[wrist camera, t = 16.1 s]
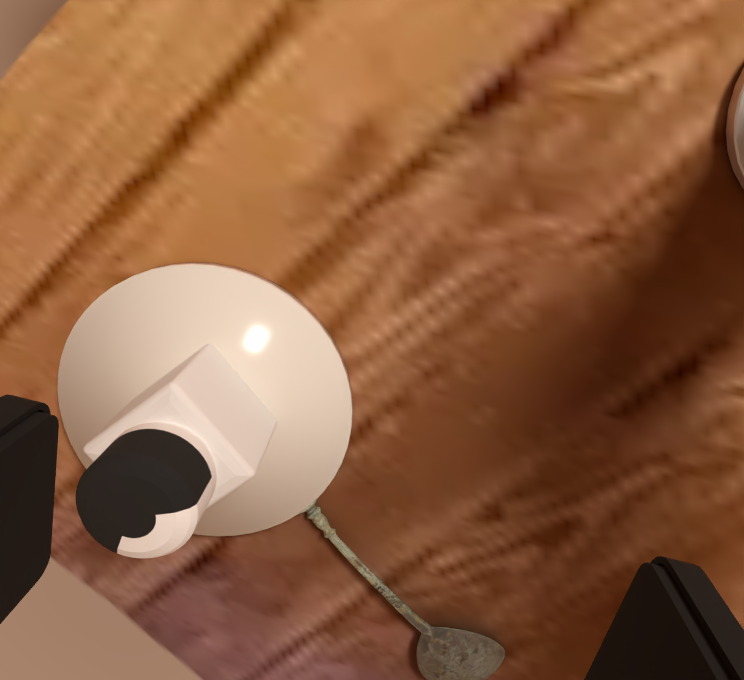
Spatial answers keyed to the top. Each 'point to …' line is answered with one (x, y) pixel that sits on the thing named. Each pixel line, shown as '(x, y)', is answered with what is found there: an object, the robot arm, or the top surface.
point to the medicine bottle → (172, 457)
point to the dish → (245, 355)
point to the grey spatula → (428, 627)
